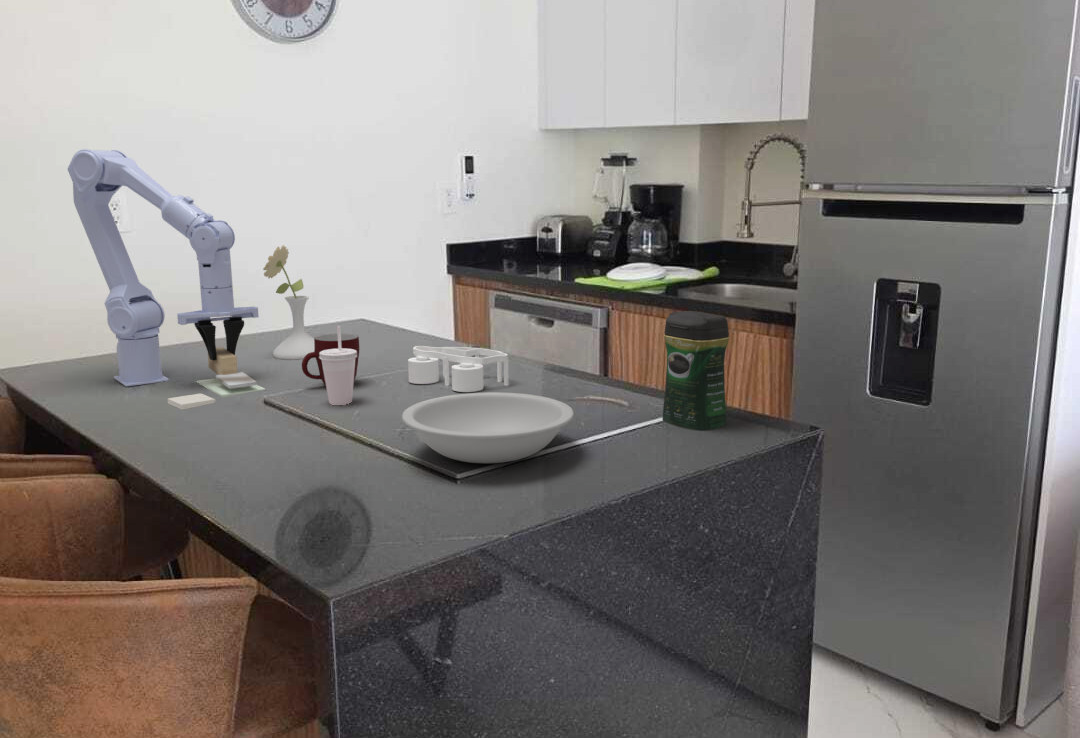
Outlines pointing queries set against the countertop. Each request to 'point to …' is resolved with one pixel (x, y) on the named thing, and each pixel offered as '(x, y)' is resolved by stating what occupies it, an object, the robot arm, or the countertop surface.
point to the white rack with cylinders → (455, 366)
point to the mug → (330, 343)
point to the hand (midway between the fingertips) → (222, 358)
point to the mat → (224, 391)
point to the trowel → (229, 370)
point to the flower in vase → (299, 339)
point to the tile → (190, 401)
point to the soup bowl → (488, 425)
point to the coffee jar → (695, 370)
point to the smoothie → (339, 372)
